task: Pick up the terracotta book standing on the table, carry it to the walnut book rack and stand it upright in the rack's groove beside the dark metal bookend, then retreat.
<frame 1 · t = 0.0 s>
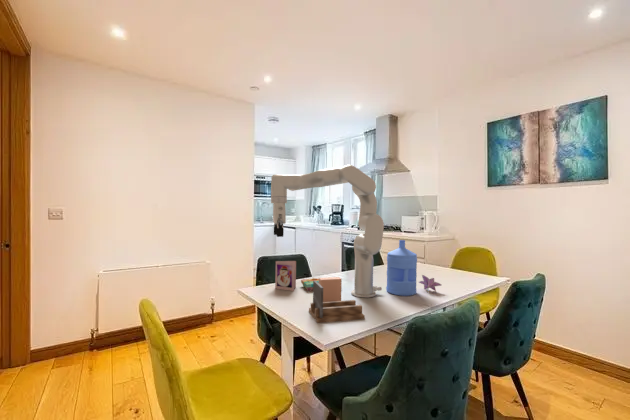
hand: (278, 235, 151), 31 cm above the table, tool pointing down, fingers open, 9 cm apart
book: (329, 303, 147), on the table
water jug: (401, 292, 169), on the table
book rack: (335, 315, 132), on the table
greeting card: (286, 288, 173), on the table
puzzle game: (320, 288, 176), on the table
lily: (429, 291, 171), on the table
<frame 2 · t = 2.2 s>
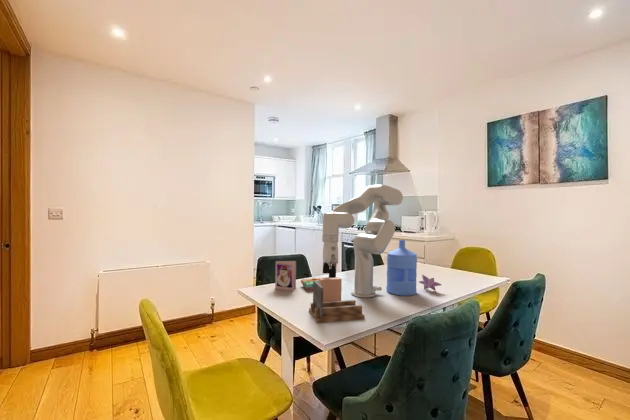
hand: (329, 275, 146), 13 cm above the table, tool pointing down, fingers open, 9 cm apart
nothing on the table moved.
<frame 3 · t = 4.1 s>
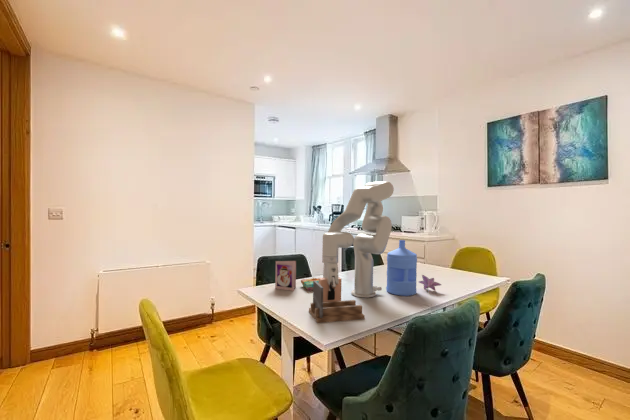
hand: (329, 297, 146), 3 cm above the table, tool pointing down, fingers closed on book, 4 cm apart
book: (329, 303, 147), on the table, touching gripper
everything else where it was.
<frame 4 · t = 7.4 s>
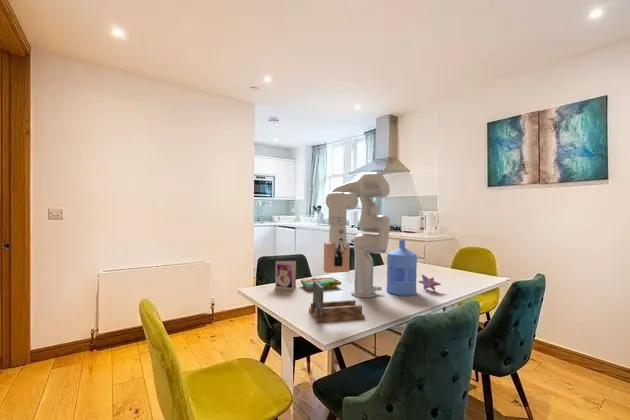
hand: (336, 264, 131), 21 cm above the table, tool pointing down, fingers closed on book, 4 cm apart
book: (336, 271, 131), point 18 cm above the table, touching gripper
everything else where it was.
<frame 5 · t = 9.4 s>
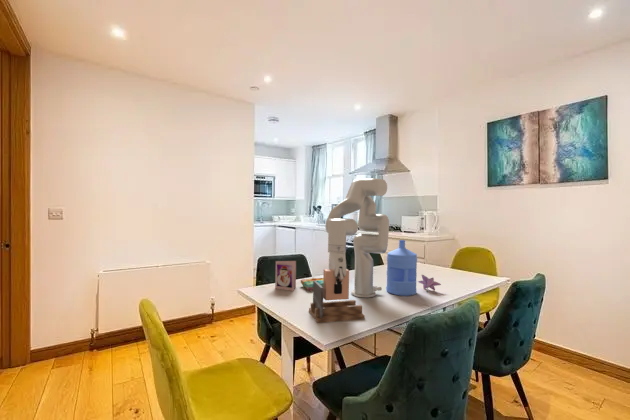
hand: (336, 291, 131), 10 cm above the table, tool pointing down, fingers closed on book, 4 cm apart
book: (335, 298, 131), point 7 cm above the table, touching gripper
everything else where it was.
when the fingers open (6 cm above the table, at t = 11.0 s): book drops 1 cm, resting on book rack.
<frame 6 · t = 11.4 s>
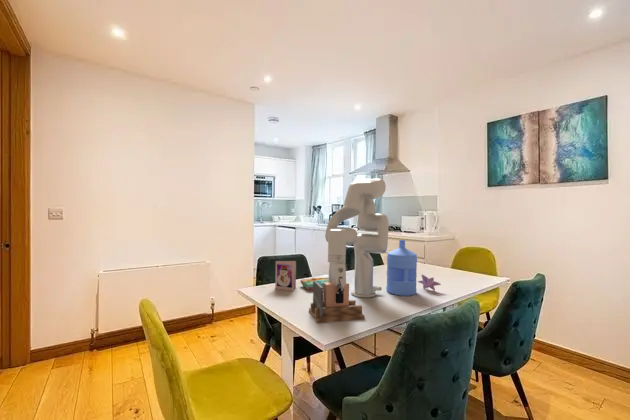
hand: (336, 299, 131), 6 cm above the table, tool pointing down, fingers open, 8 cm apart
book: (335, 311, 132), point 2 cm above the table, touching book rack
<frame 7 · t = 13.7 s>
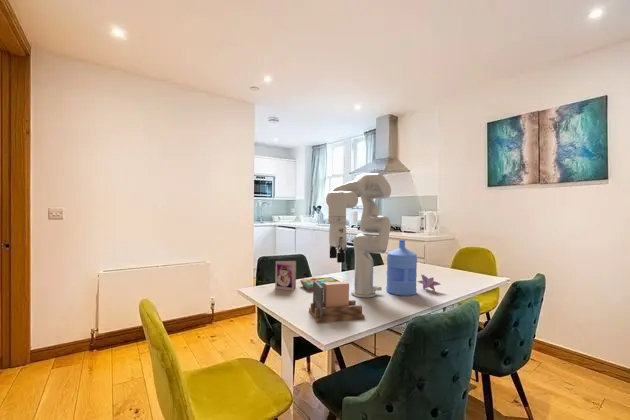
hand: (336, 260, 134), 23 cm above the table, tool pointing down, fingers open, 9 cm apart
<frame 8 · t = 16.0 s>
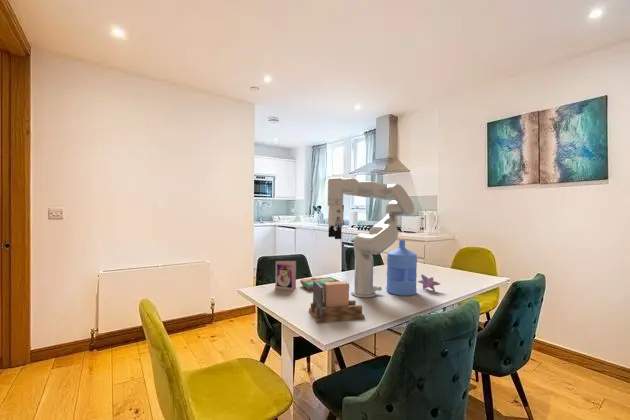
hand: (334, 237, 153), 30 cm above the table, tool pointing down, fingers open, 9 cm apart
at the end: book 0.2 cm off-centre on the book rack, point 1.5 cm above the book rack's base; book tilted 0°; the gripper is holding nothing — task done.
